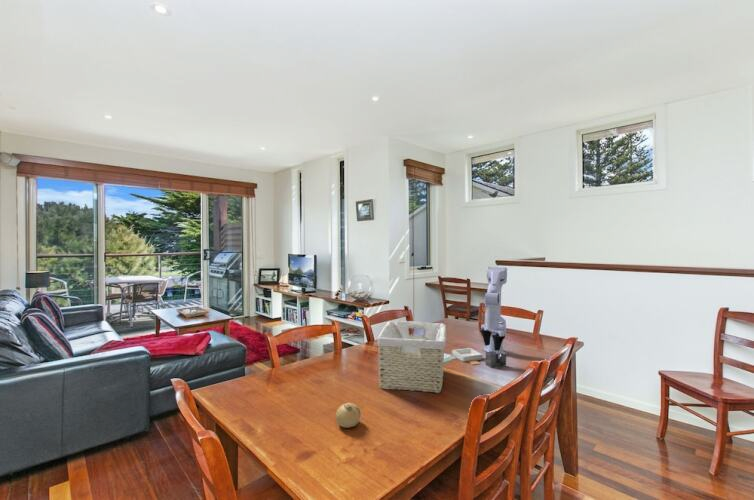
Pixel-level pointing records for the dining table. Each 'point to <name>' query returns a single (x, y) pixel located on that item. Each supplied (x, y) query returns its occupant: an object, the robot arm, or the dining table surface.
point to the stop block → (492, 359)
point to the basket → (411, 356)
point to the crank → (502, 360)
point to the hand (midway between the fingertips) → (492, 347)
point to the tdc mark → (474, 362)
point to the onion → (348, 415)
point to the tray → (467, 354)
